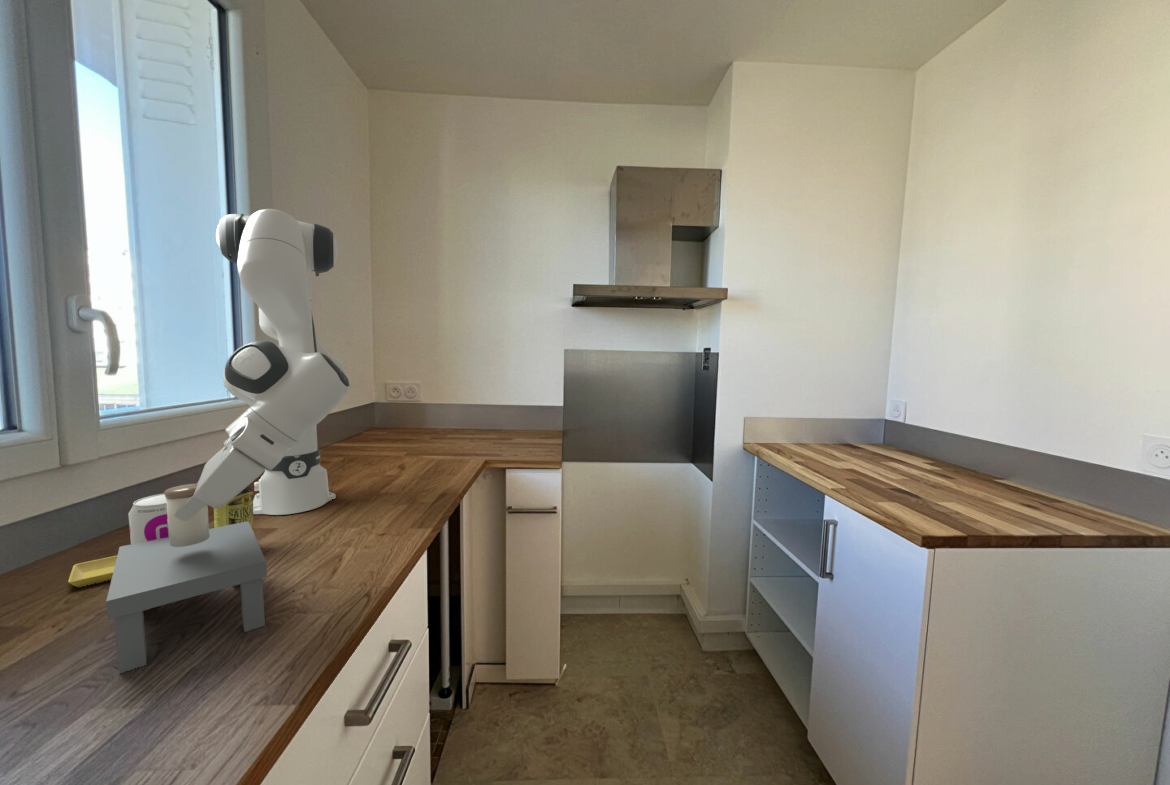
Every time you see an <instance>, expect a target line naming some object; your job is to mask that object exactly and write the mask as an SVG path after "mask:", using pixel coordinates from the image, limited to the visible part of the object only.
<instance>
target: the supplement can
mask: <svg viewBox="0 0 1170 785" xmlns="http://www.w3.org/2000/svg"><path fill="white" fill-rule="evenodd" d="M130 508H131V509H130V510H129V512H128V526H129V535H130V545H131V544H136V543H141V542H146V541H151V540H156V539H161V538H166V537H169V530H168V517H167V504H166V498H165V492H163V493H158V494H153V495H149V496H146V497H142V498H138V499H137V500H135V501H133V503H132V506H131V507H130Z"/></svg>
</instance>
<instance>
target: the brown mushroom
mask: <svg viewBox="0 0 1170 785" xmlns="http://www.w3.org/2000/svg"><path fill="white" fill-rule="evenodd" d="M197 485H198V484H196V483H188V484H181V485H177V486H173V487H169V488H167V489H165V490H164V493H165V498H166V504H167V517H168V530H169V543H170V546H172V547H183V546H189V545H194V544H197V543H201V542H203V541H205V540H207V539H208V538H209V537H210V534H209V529H210V522H209V521H210V520H209V509H208V508H209V507H208V506H209V505H208V504H207V505H206V506H205V507H203V508H202V509H200V510H199V511H197V512H196V513H195V514H194V515H193V516H191V517H190V518H189V519H188V520H187V521H182V520H180V519H179V518H177V517H175V513H176V511H177V510H178V509H179V508H180V507H181V506H182V505H183V504H184V503H186V502H187V501H188V500H189V499H190V498H191V497H192V496H193V495H194V492H195V490H196V487H197Z"/></svg>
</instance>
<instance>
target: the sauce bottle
mask: <svg viewBox="0 0 1170 785" xmlns="http://www.w3.org/2000/svg"><path fill="white" fill-rule="evenodd" d="M253 500H254V492H253V490H252V487H251V484H249V485H248V486H247V487H246V488H245V489H243V490H242V491H241V492H240V493H239V494H237V495H236V496H235V497H234V498H233V499H231V500H230V501H229V502H227V503H226V504H224V505H223V506H221V507H219V508H213V519H214V520H213V521H214V522H213V523H214V525H213V526H214V527H213V528H216V527H221V526H226V525H231V524H237V523H242V522H247V521H249V524H250V526H251V528H252V530H253V533H254V534H255V528H254V527H255V525H254V524H255V523H254V522H255V520H254V519H255V518H254V514H253Z"/></svg>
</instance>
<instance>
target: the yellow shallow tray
mask: <svg viewBox="0 0 1170 785" xmlns="http://www.w3.org/2000/svg"><path fill="white" fill-rule="evenodd" d="M116 559H117V555H113V556H108V557H103V558H99V559H93V560H88V561H83V562H79V563H76V564H74V565H73V566H72V569H71V572H70V574H69V578H68V580H67V581H68V583H69V584H70V585H72V586H74V587H76V588H82V587H83V586H84V587H88V586H90V585H91V584H92V585H95V583H96V584H100V583H105V582H108V580H109V581H111V580H112V576H113V572H114V568H115V564H116ZM104 581H105V582H104ZM87 585H88V586H87Z"/></svg>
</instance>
